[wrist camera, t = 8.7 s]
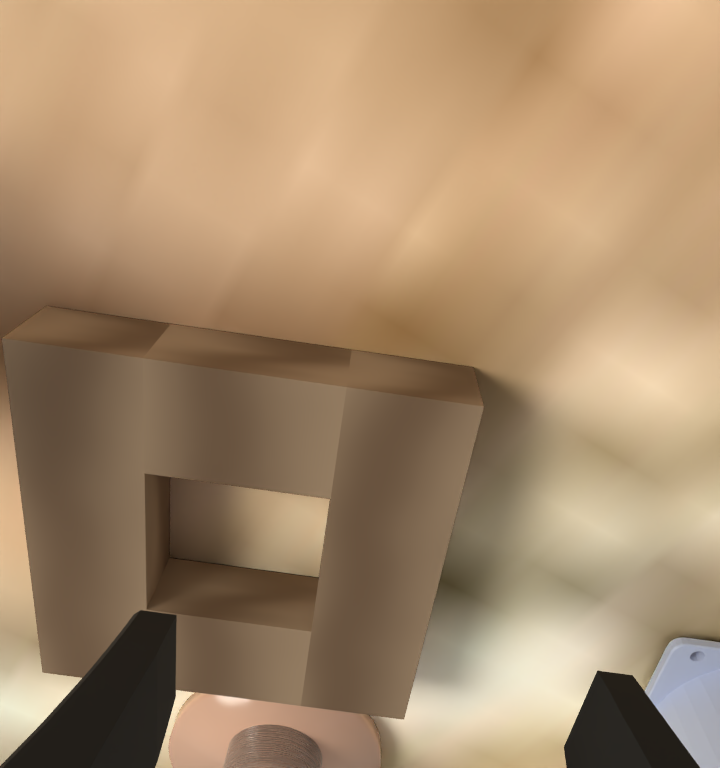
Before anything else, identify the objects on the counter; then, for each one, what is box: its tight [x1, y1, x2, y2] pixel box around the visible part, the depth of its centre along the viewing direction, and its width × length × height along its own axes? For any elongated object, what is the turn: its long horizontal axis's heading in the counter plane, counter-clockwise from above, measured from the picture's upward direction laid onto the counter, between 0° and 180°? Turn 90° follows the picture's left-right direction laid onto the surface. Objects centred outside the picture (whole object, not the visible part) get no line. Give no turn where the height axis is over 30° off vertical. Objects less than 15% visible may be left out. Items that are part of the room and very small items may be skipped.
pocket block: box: [2, 306, 484, 719], centre depth 22 cm, size 13×13×2 cm
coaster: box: [169, 692, 381, 768], centre depth 28 cm, size 9×9×1 cm
